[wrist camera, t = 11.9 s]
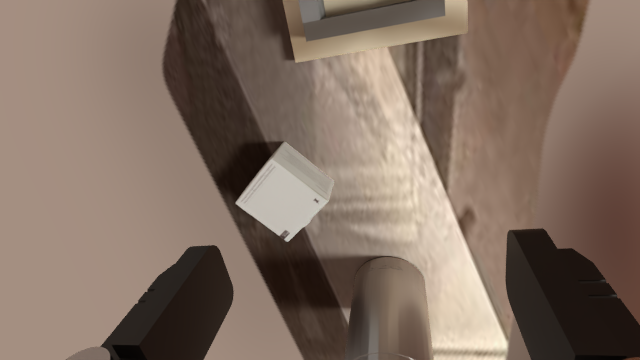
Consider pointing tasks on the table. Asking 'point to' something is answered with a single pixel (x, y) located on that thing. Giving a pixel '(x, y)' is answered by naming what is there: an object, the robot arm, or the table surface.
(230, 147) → the table surface
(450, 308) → the table surface
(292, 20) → the keyed socket block
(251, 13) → the table surface
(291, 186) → the small box
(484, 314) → the table surface
